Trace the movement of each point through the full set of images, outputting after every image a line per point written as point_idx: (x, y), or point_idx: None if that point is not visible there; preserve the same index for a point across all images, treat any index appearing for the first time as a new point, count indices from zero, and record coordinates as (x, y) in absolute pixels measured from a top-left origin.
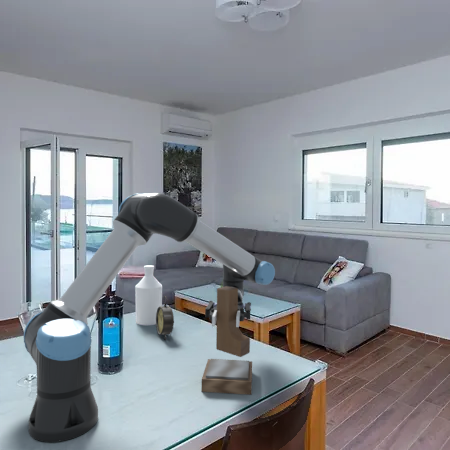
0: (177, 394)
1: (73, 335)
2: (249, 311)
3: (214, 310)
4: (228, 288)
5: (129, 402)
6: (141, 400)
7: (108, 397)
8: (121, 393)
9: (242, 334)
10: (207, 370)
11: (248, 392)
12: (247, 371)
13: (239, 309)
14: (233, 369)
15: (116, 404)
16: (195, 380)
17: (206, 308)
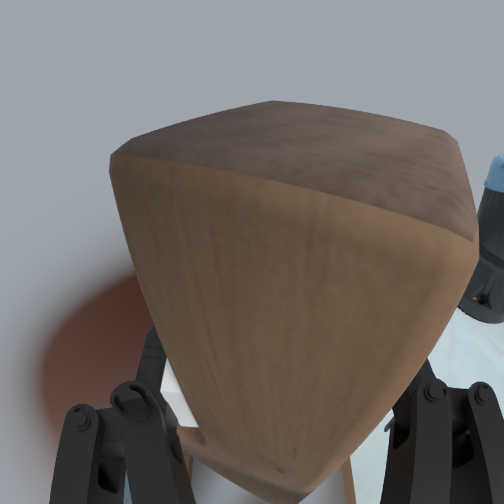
0: (390, 413)
1: (500, 157)
2: (78, 407)
3: (417, 388)
4: (292, 115)
5: (455, 355)
6: (442, 368)
7: (492, 357)
8: (486, 375)
9: (184, 426)
10: (341, 474)
11: None
12: (194, 487)
13: (160, 458)
14: (247, 499)
15: (467, 344)
16: (373, 495)
17: (487, 389)
